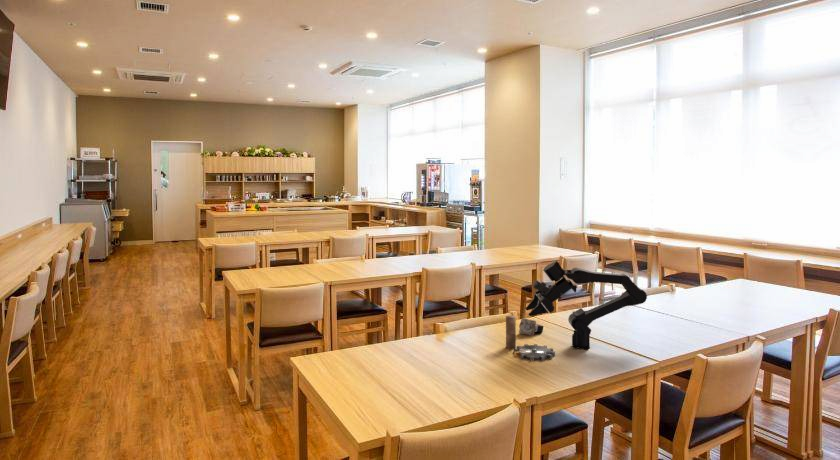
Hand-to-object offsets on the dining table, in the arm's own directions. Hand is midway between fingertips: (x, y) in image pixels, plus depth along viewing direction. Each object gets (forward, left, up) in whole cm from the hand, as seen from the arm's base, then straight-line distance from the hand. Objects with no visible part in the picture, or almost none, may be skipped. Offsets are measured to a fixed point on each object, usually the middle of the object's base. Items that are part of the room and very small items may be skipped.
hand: (527, 312), depth 219 cm
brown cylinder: (+7, +3, -14) cm, 16 cm away
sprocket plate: (-3, +9, -14) cm, 17 cm away
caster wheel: (+1, -20, -15) cm, 25 cm away
